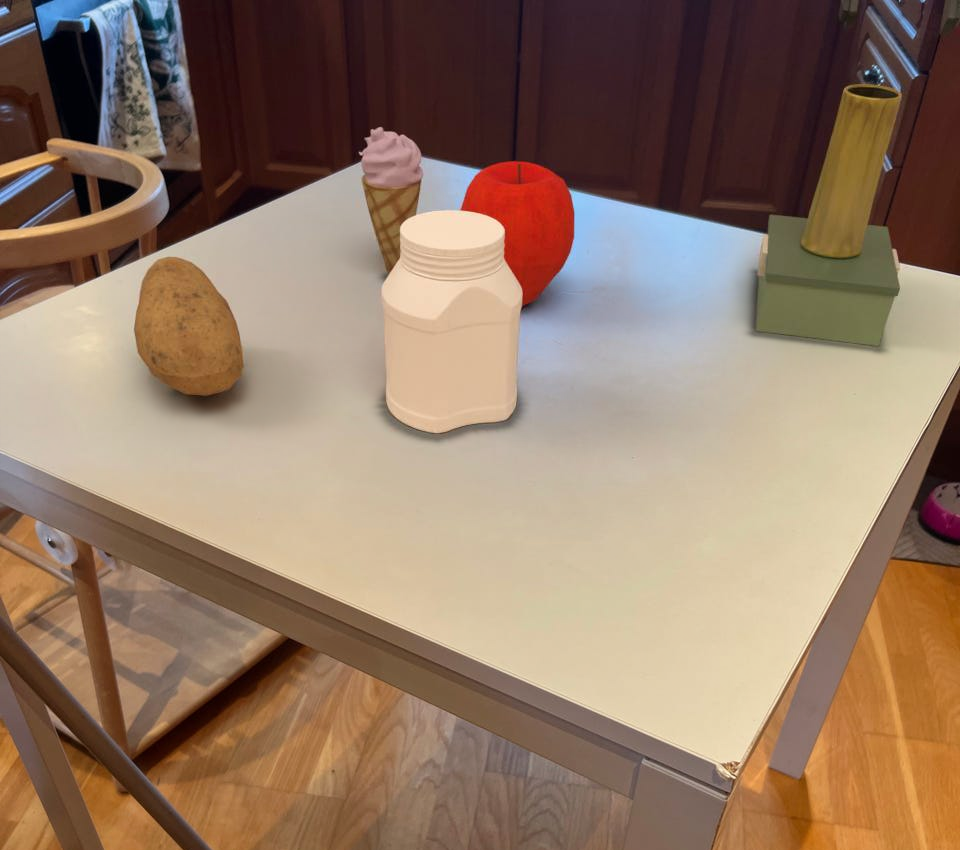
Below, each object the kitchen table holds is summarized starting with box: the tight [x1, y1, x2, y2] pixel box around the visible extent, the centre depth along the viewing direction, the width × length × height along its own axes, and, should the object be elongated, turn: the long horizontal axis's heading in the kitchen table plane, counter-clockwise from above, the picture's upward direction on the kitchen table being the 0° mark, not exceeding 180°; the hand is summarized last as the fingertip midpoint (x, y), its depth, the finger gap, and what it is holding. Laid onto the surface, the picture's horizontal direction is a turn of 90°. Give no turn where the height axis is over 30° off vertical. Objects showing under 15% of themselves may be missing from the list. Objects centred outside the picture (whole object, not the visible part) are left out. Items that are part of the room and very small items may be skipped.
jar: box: [380, 209, 523, 434], centre depth 81 cm, size 12×10×15 cm
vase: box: [801, 83, 903, 259], centre depth 94 cm, size 6×6×14 cm
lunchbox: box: [755, 214, 901, 347], centre depth 100 cm, size 13×16×6 cm
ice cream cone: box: [358, 126, 424, 276], centre depth 101 cm, size 7×6×15 cm
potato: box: [133, 256, 245, 397], centre depth 84 cm, size 9×16×9 cm, turn 18°
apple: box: [459, 160, 575, 307], centre depth 97 cm, size 12×12×13 cm
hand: (898, 26), depth 89 cm, fingers open, 8 cm apart
